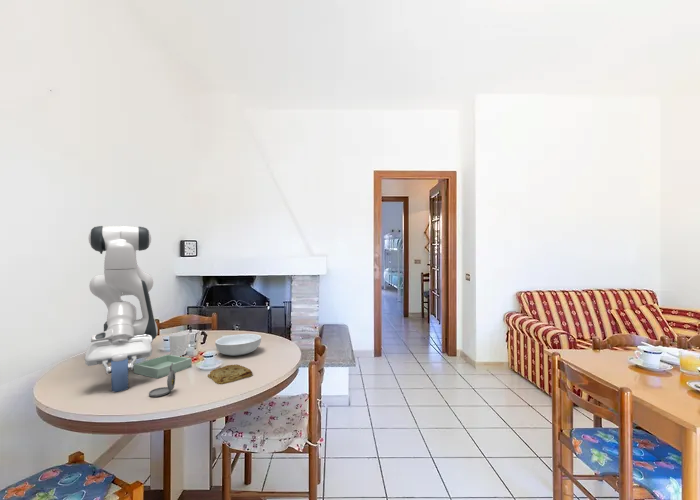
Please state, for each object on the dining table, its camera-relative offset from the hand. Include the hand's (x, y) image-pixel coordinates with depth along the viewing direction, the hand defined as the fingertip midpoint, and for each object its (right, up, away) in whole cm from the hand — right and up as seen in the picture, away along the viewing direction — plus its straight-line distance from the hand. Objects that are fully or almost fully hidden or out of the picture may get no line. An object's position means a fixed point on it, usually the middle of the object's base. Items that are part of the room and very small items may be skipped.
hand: (119, 370), depth 122 cm
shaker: (0, -7, 0) cm, 7 cm away
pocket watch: (+18, -6, -4) cm, 19 cm away
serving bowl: (+28, -7, +43) cm, 52 cm away
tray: (+4, -7, +21) cm, 22 cm away
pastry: (+35, -7, +12) cm, 37 cm away
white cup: (0, -7, +42) cm, 42 cm away
